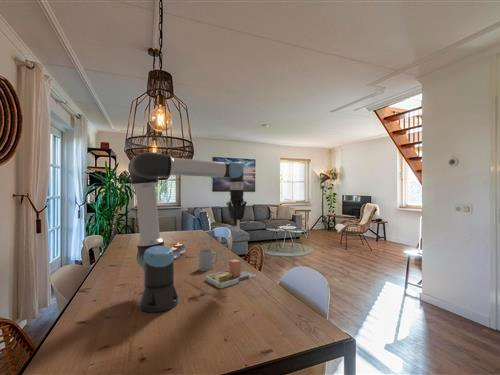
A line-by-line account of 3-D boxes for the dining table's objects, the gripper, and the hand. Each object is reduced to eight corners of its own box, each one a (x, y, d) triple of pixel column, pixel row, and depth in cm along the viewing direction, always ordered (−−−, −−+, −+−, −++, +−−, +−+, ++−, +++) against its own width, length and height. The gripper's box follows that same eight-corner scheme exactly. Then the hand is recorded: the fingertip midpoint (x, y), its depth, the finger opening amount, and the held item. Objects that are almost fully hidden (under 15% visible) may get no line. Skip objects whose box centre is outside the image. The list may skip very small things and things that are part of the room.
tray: (220, 290, 120) (220, 283, 120) (205, 282, 131) (205, 276, 131) (238, 285, 127) (238, 278, 127) (223, 277, 138) (223, 271, 138)
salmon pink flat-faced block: (234, 279, 131) (234, 262, 131) (229, 277, 134) (229, 260, 134) (240, 277, 134) (240, 260, 134) (235, 275, 137) (235, 259, 137)
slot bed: (236, 283, 128) (236, 278, 128) (225, 278, 136) (225, 273, 136) (256, 277, 137) (256, 272, 137) (245, 272, 145) (245, 268, 145)
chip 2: (225, 283, 128) (225, 275, 128) (221, 281, 131) (221, 273, 131) (232, 281, 131) (232, 273, 131) (227, 279, 134) (227, 271, 134)
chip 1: (219, 285, 126) (218, 277, 126) (214, 283, 129) (214, 275, 129) (225, 283, 128) (225, 275, 128) (221, 281, 131) (221, 273, 131)
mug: (202, 272, 147) (201, 253, 147) (196, 268, 154) (196, 250, 154) (220, 268, 153) (220, 250, 153) (214, 265, 160) (214, 247, 160)
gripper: (231, 189, 136) (231, 233, 136) (249, 189, 144) (250, 230, 144) (223, 189, 142) (223, 231, 141) (241, 189, 150) (242, 229, 150)
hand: (237, 231), depth 143 cm, fingers closed
